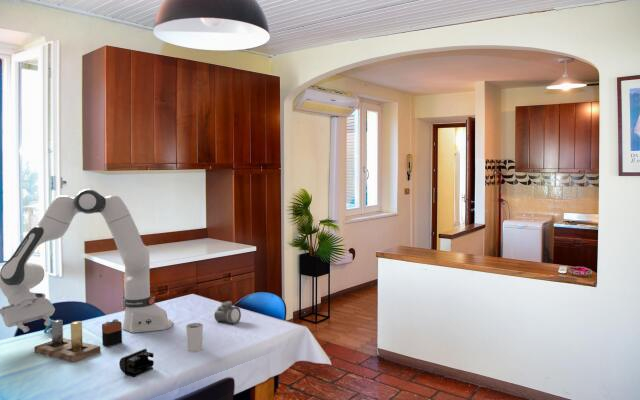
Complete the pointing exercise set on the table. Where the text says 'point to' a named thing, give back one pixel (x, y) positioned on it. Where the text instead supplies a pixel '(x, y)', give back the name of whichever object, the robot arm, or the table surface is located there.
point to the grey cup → (194, 336)
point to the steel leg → (57, 333)
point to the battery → (112, 333)
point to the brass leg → (76, 336)
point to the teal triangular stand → (49, 325)
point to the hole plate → (67, 351)
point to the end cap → (136, 363)
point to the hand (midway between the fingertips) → (37, 327)
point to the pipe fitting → (228, 313)
